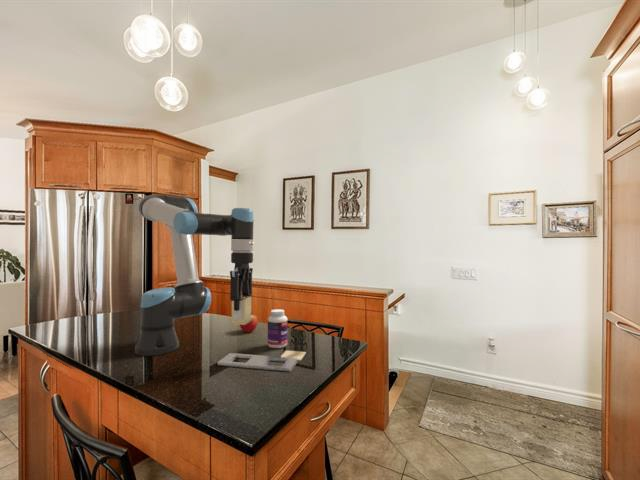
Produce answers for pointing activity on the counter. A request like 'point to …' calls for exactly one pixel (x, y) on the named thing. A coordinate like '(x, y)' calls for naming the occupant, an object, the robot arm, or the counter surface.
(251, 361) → the rail
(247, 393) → the counter surface
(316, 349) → the counter surface
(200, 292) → the robot arm
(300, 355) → the coaster
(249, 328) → the apple
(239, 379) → the counter surface
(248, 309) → the tan block with knob
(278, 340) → the pill bottle
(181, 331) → the counter surface
